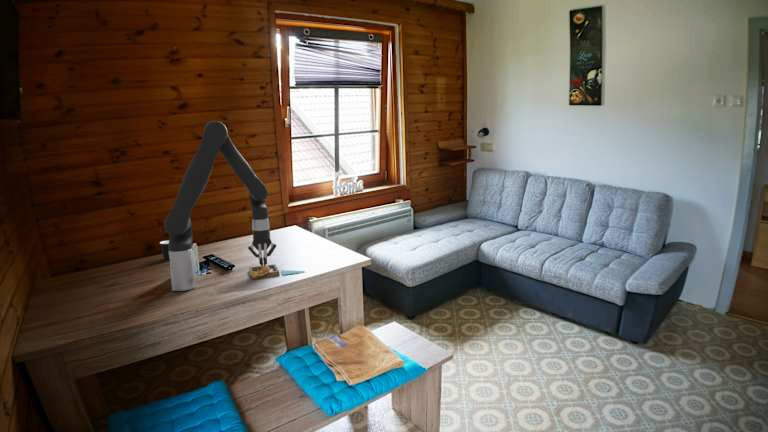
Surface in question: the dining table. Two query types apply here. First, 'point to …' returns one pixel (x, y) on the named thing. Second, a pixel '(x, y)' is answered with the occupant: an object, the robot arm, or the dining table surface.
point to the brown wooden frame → (268, 274)
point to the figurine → (258, 272)
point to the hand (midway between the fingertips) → (263, 265)
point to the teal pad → (290, 272)
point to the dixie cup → (165, 250)
